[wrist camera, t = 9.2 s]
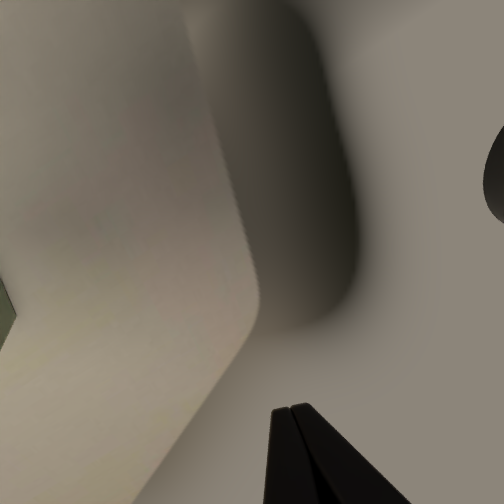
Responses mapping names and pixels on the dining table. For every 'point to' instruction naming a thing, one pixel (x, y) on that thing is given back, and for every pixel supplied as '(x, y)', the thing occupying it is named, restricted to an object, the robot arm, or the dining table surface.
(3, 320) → the button base
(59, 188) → the dining table surface
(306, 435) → the robot arm
